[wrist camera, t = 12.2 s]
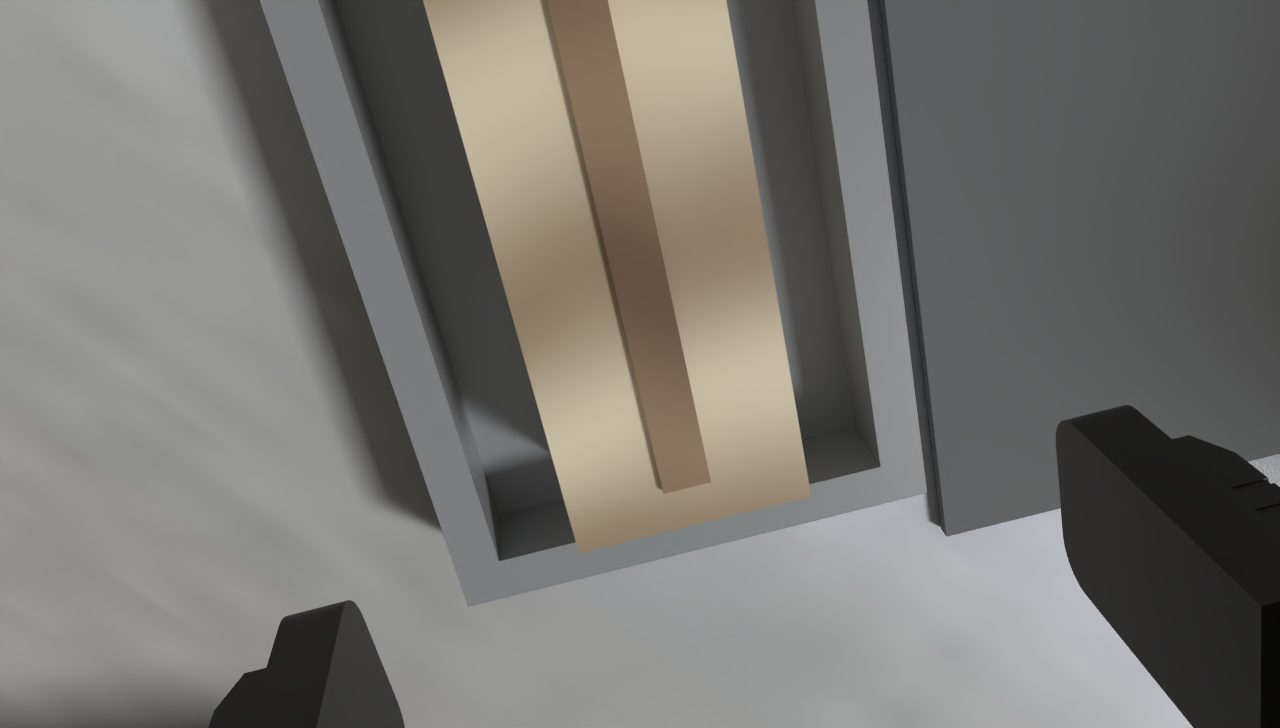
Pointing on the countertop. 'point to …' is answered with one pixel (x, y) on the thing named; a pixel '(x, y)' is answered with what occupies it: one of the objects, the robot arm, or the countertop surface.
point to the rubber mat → (1086, 228)
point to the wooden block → (630, 253)
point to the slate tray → (480, 314)
